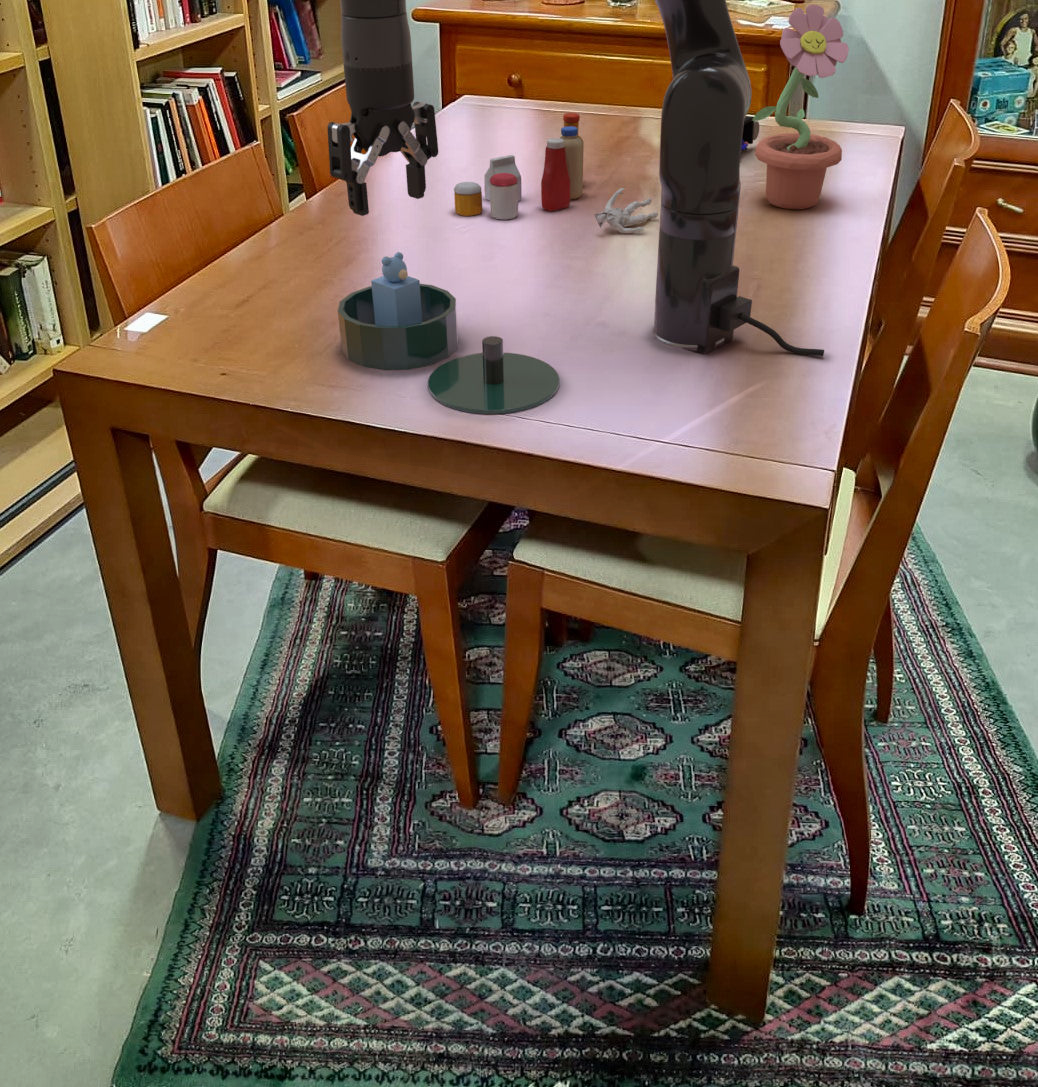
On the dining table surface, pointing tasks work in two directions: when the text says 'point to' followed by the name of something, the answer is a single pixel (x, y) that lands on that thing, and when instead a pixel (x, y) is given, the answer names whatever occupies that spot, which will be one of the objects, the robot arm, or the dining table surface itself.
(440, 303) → the pot
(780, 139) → the decorative flower
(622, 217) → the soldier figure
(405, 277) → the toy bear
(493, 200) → the toy food
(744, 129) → the figurine character
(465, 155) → the dining table surface
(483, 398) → the lid
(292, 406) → the dining table surface
